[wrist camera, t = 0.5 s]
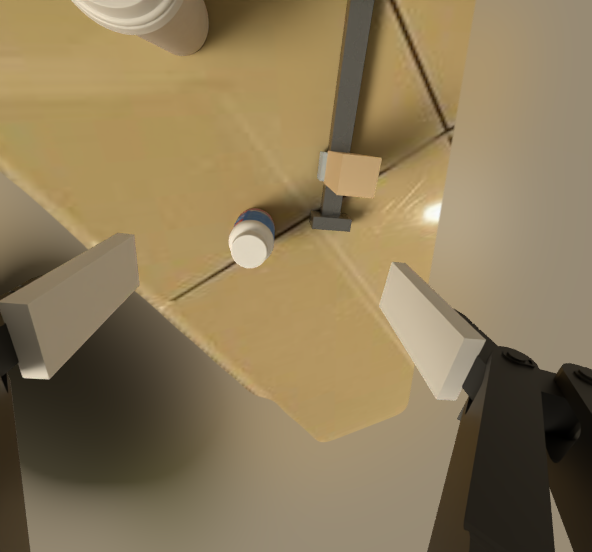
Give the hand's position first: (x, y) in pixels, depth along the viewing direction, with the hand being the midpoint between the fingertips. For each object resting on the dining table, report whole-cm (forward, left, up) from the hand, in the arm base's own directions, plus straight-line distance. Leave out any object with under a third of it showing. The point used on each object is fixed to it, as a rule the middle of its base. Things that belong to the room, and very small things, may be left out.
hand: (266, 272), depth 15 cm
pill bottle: (+5, -2, -26) cm, 27 cm away
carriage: (-4, +8, -26) cm, 28 cm away
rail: (-11, +8, -26) cm, 29 cm away
